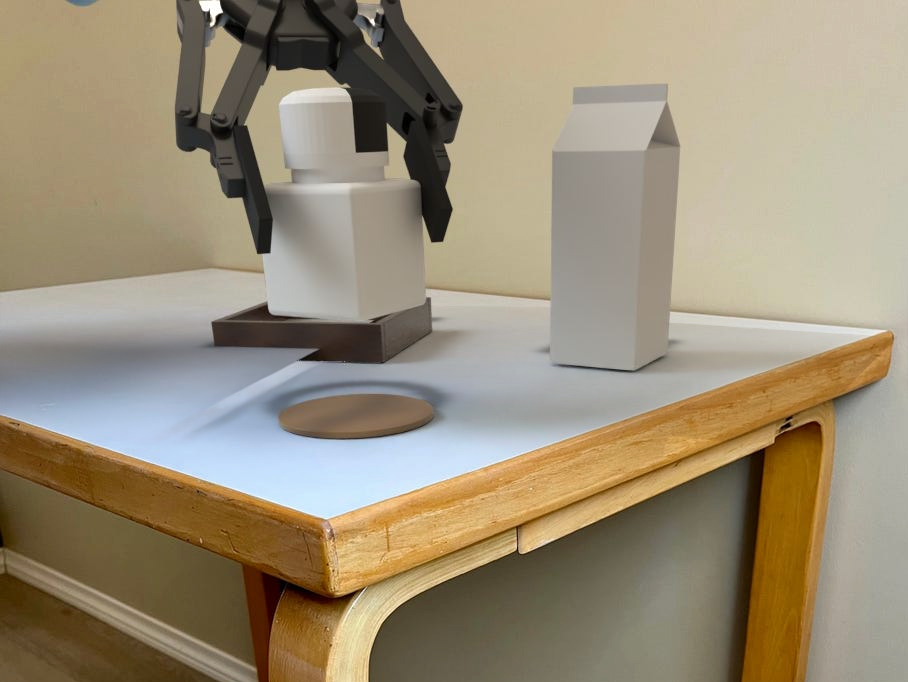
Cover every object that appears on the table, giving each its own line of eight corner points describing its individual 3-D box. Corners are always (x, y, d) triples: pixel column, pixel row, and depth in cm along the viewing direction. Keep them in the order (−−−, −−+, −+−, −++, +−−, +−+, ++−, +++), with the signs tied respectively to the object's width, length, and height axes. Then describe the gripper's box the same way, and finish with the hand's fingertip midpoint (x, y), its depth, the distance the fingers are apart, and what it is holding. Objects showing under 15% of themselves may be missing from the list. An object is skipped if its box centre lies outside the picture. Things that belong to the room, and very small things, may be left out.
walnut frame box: (216, 358, 83) (210, 321, 82) (285, 328, 96) (282, 295, 95) (383, 363, 80) (380, 324, 79) (432, 331, 93) (431, 297, 92)
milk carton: (635, 373, 75) (649, 82, 66) (549, 365, 78) (552, 86, 70) (667, 355, 81) (684, 84, 72) (586, 349, 84) (593, 88, 75)
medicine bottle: (337, 298, 66) (320, 91, 61) (428, 304, 63) (418, 86, 58) (266, 315, 61) (240, 90, 56) (361, 323, 58) (343, 84, 52)
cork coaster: (252, 435, 62) (251, 428, 62) (313, 397, 71) (312, 391, 70) (408, 441, 60) (407, 435, 60) (450, 401, 68) (450, 396, 68)
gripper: (424, 0, 70) (517, 262, 64) (88, -5, 63) (157, 289, 57) (447, -109, 63) (553, 173, 58) (73, -129, 56) (150, 191, 50)
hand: (356, 231), depth 57 cm, fingers closed on medicine bottle, 10 cm apart
